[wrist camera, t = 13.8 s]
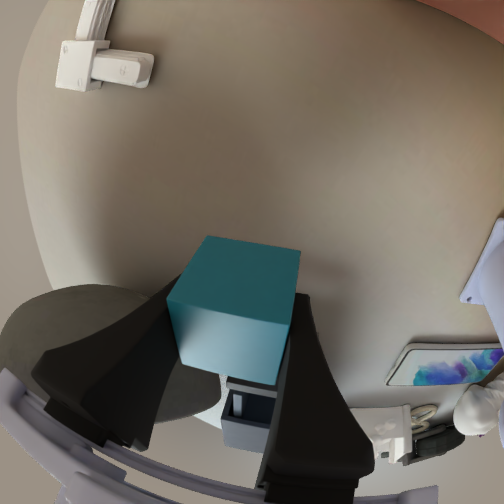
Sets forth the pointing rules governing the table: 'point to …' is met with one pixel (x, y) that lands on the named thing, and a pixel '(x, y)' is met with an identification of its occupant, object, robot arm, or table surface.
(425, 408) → the decorative object
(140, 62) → the corner connector
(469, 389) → the ice cream cone
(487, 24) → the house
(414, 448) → the caster wheel
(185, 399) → the bowl
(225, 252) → the teal cube block
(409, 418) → the white holder
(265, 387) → the drawer
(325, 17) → the table surface
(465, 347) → the smartphone
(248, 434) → the compartment
